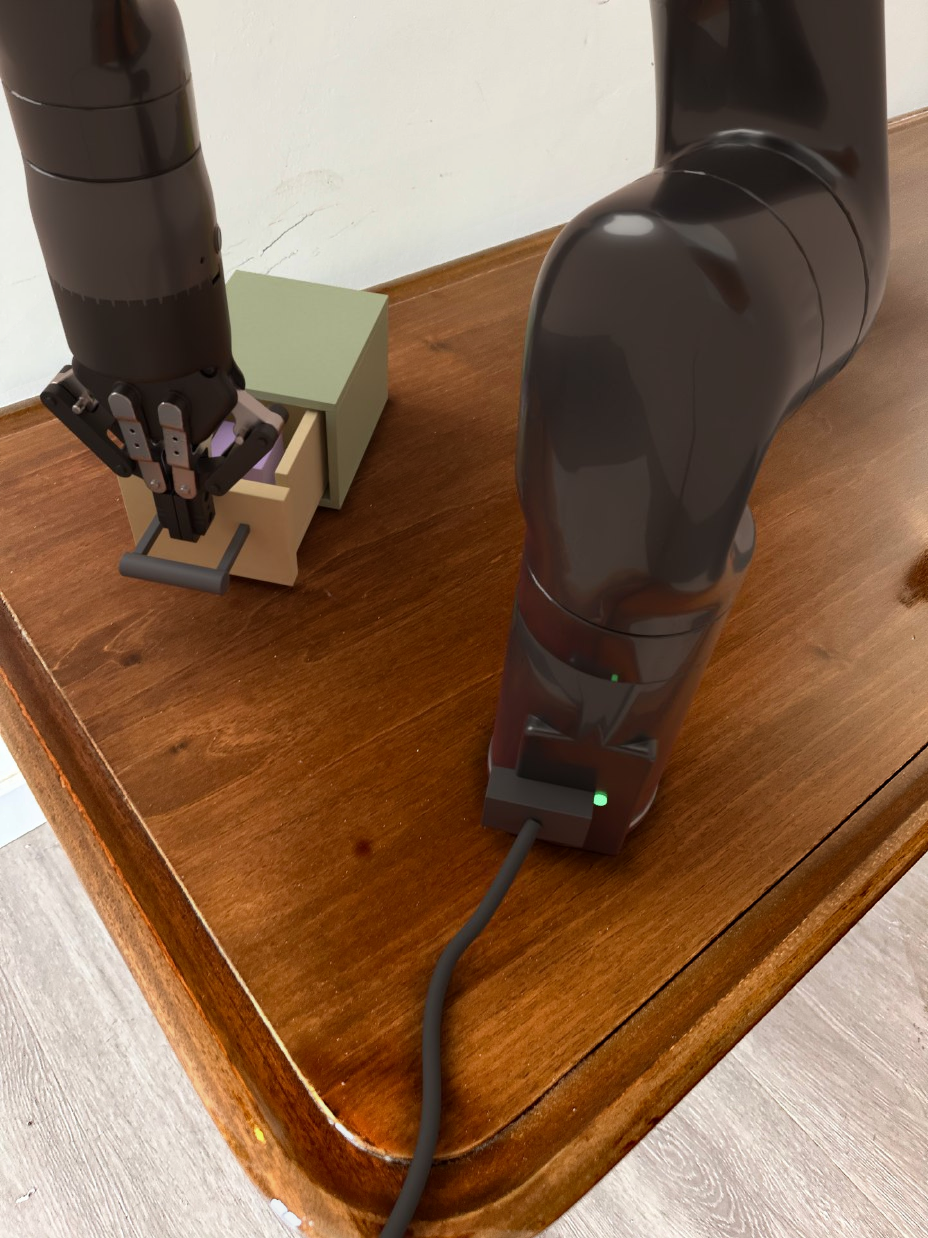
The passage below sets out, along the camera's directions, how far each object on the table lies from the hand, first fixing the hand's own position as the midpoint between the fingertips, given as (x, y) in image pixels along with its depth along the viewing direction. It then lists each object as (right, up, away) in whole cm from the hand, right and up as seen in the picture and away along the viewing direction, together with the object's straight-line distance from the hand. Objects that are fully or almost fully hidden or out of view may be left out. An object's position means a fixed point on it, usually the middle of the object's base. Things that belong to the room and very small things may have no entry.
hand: (190, 531), depth 55 cm
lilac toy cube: (+2, +6, +8) cm, 11 cm away
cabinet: (+3, +8, +16) cm, 18 cm away
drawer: (+1, +1, +7) cm, 7 cm away
